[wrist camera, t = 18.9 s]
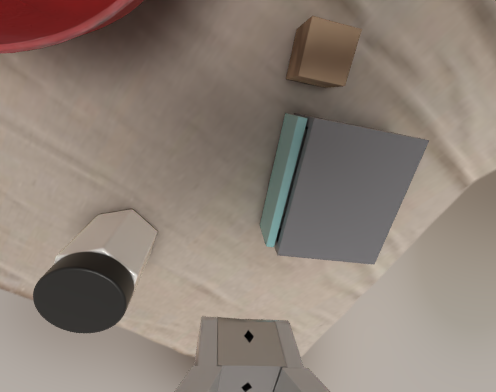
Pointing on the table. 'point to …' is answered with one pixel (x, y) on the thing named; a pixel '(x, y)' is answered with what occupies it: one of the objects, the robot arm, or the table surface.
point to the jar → (96, 273)
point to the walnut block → (323, 53)
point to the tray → (283, 176)
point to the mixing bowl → (55, 20)
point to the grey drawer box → (346, 191)
